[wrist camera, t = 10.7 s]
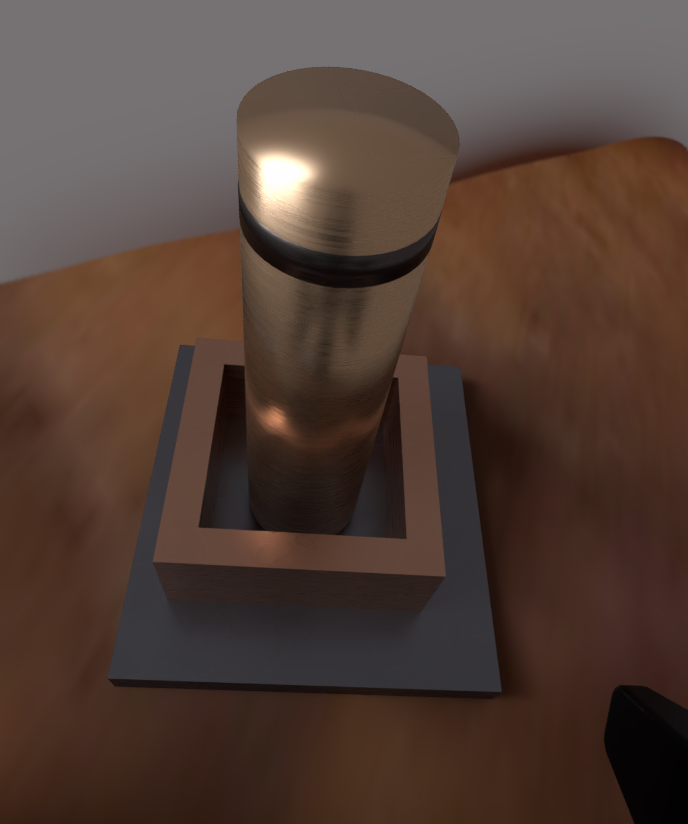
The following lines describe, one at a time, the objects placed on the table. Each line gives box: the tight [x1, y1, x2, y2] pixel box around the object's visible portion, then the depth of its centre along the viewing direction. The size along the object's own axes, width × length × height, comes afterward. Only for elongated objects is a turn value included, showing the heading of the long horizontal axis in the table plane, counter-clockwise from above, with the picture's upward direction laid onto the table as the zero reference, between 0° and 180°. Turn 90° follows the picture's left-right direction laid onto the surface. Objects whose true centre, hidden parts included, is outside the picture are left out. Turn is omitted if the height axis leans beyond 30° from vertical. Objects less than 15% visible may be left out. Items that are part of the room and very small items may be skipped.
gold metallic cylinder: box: [237, 67, 460, 535], centre depth 15 cm, size 4×4×13 cm
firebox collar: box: [108, 338, 502, 699], centre depth 20 cm, size 12×11×4 cm
